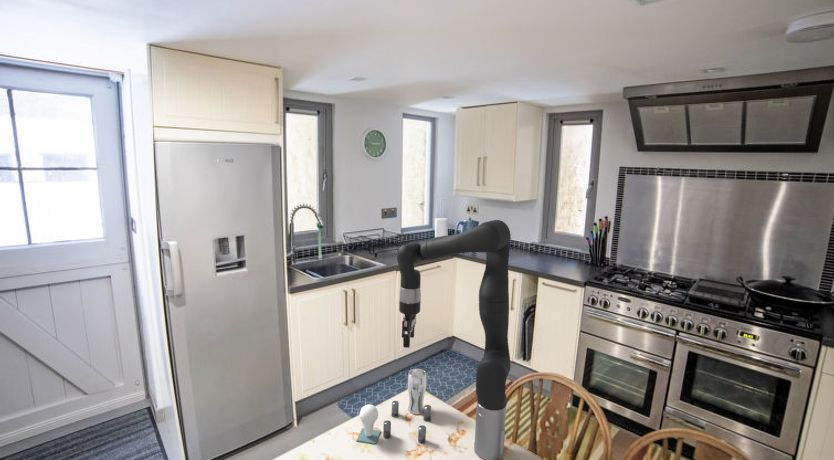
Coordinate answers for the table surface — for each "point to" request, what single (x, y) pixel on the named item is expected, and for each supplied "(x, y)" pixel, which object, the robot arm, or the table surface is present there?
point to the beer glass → (416, 390)
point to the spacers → (421, 428)
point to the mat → (366, 439)
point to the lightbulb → (368, 418)
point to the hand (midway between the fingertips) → (408, 342)
